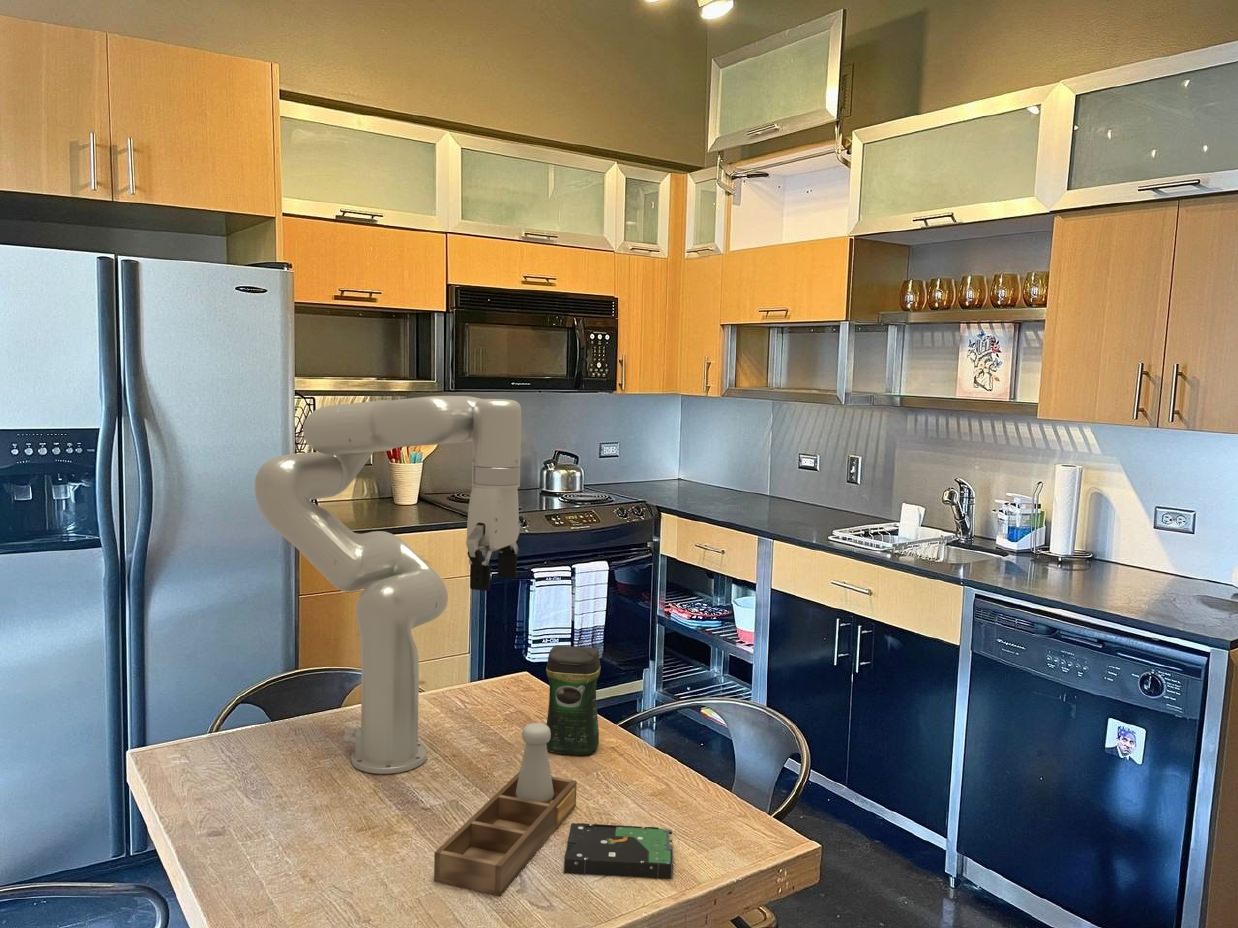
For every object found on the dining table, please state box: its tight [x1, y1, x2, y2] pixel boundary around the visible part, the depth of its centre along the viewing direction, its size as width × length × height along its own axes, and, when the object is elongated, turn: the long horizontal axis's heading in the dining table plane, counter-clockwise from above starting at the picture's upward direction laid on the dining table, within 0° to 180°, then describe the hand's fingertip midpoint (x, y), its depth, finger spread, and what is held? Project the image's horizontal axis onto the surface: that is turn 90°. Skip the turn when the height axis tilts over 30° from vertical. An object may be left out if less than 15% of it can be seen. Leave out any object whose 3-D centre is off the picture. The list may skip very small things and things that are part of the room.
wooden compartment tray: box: [433, 771, 578, 897], centre depth 133 cm, size 10×27×4 cm, turn 162°
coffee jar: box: [545, 644, 601, 756], centre depth 166 cm, size 10×8×19 cm
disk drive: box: [563, 822, 674, 880], centre depth 129 cm, size 10×3×15 cm
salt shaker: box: [516, 722, 554, 804], centre depth 141 cm, size 6×6×13 cm
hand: (493, 583), depth 148 cm, fingers open, 9 cm apart
